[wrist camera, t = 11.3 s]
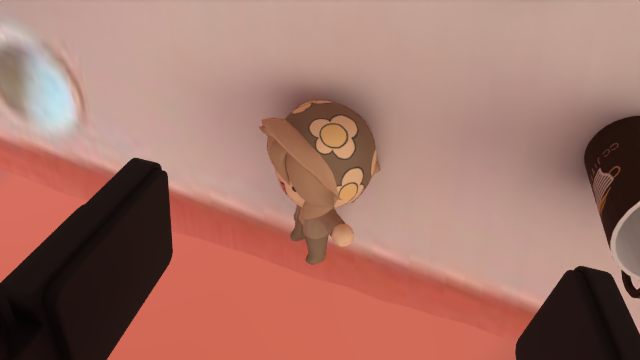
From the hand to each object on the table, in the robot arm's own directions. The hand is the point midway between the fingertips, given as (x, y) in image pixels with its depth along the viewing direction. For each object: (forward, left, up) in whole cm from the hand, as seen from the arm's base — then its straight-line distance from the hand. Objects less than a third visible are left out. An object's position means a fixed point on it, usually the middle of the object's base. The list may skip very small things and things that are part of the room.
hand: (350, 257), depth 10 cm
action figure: (-3, -15, -26) cm, 31 cm away
